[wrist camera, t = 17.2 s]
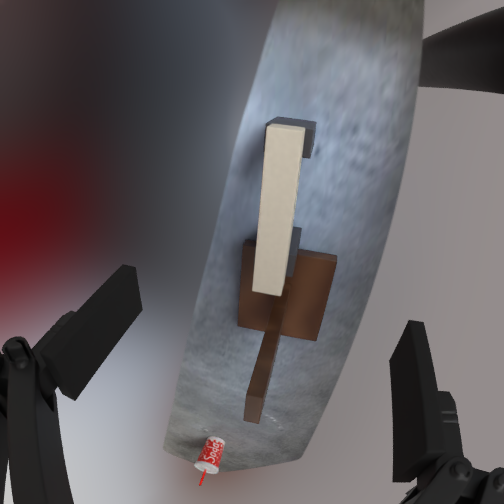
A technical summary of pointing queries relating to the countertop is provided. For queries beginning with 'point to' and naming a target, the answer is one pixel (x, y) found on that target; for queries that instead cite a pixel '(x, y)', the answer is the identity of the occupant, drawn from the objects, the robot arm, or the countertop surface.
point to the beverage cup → (210, 456)
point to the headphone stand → (282, 313)
